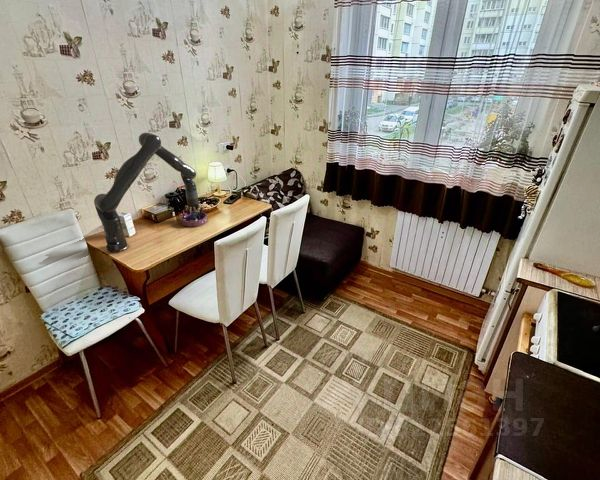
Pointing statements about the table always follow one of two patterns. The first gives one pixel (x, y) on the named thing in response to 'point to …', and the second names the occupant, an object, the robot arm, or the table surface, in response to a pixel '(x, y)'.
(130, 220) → the syrup box
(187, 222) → the bowl
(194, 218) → the eraser
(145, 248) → the table surface
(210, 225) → the table surface
